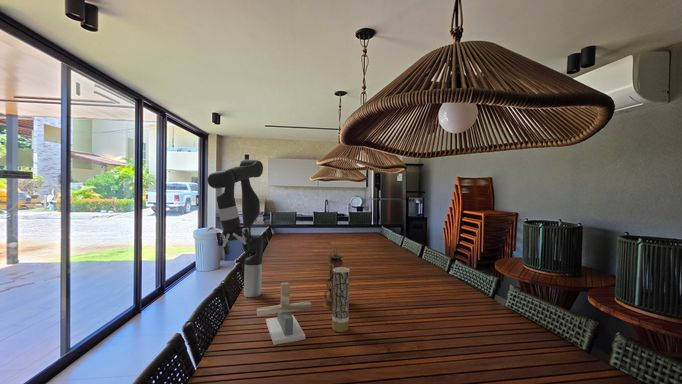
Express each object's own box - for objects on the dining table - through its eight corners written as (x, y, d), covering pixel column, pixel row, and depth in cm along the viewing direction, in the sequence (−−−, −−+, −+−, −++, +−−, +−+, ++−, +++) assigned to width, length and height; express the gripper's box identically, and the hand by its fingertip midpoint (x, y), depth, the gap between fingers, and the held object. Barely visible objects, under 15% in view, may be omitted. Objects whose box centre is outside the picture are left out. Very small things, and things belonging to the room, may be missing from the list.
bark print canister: (346, 333, 113) (348, 271, 113) (330, 331, 114) (331, 270, 115) (349, 326, 119) (350, 267, 120) (334, 324, 121) (335, 266, 121)
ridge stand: (266, 322, 121) (266, 303, 122) (293, 318, 126) (293, 300, 126) (273, 344, 103) (274, 323, 103) (305, 339, 108) (305, 318, 108)
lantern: (345, 313, 133) (346, 250, 134) (319, 310, 136) (320, 248, 136) (350, 300, 150) (351, 244, 151) (327, 298, 152) (328, 243, 153)
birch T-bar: (256, 313, 112) (257, 285, 112) (309, 305, 120) (309, 280, 121) (257, 316, 109) (258, 287, 109) (311, 308, 118) (311, 282, 118)
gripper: (248, 212, 123) (256, 247, 125) (217, 217, 124) (225, 251, 126) (242, 217, 115) (250, 254, 118) (209, 221, 116) (217, 258, 119)
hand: (237, 252), depth 122 cm, fingers open, 8 cm apart
